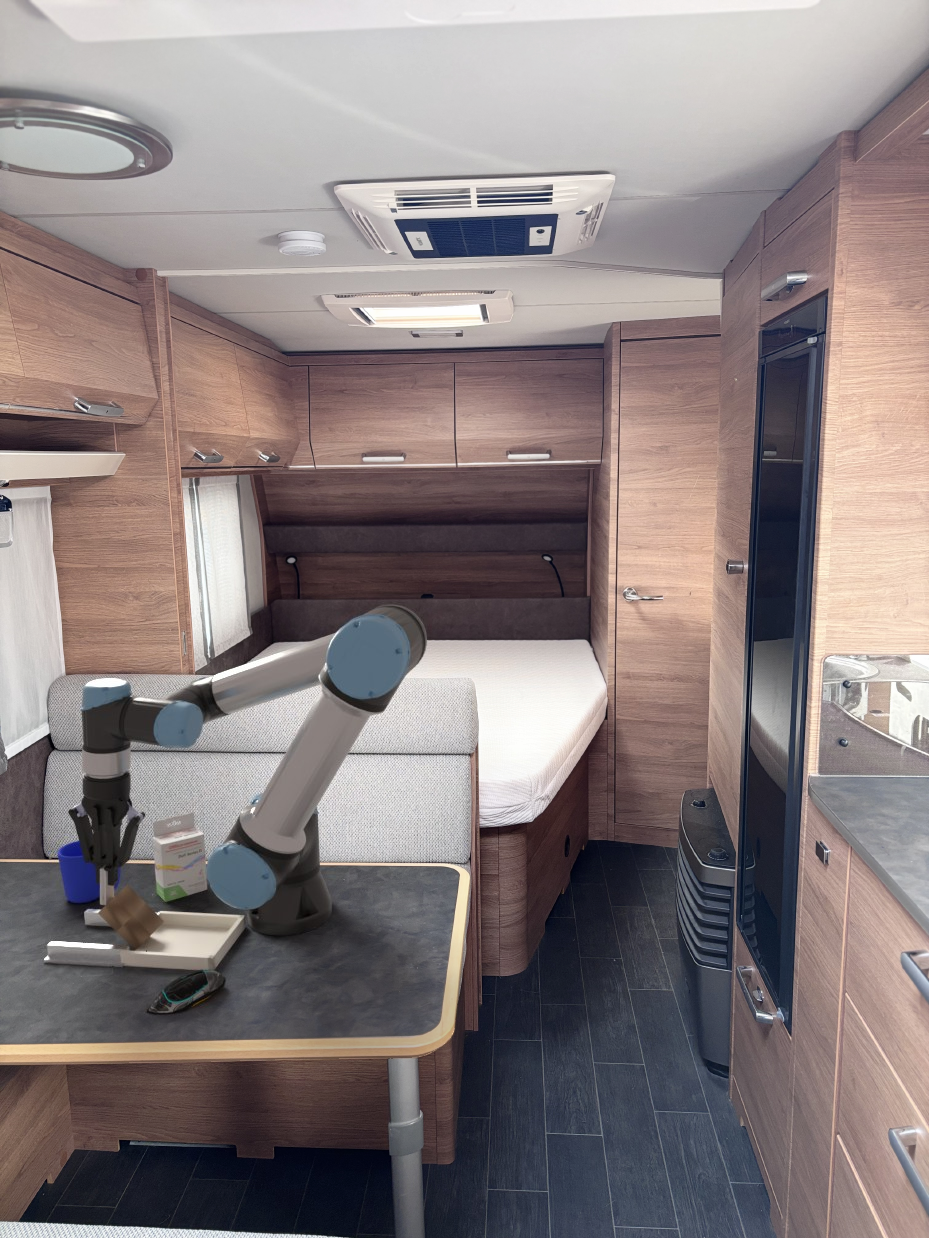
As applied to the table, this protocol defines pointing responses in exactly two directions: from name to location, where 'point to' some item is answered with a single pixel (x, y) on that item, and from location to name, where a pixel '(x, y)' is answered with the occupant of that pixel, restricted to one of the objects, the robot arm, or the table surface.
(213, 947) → the tray
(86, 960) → the slot rails
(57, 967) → the table surface
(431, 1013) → the table surface
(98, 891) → the mug
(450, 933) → the table surface
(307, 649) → the robot arm
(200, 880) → the ink box
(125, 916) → the brown shipping carton
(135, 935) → the tan cardboard cube
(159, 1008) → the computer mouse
